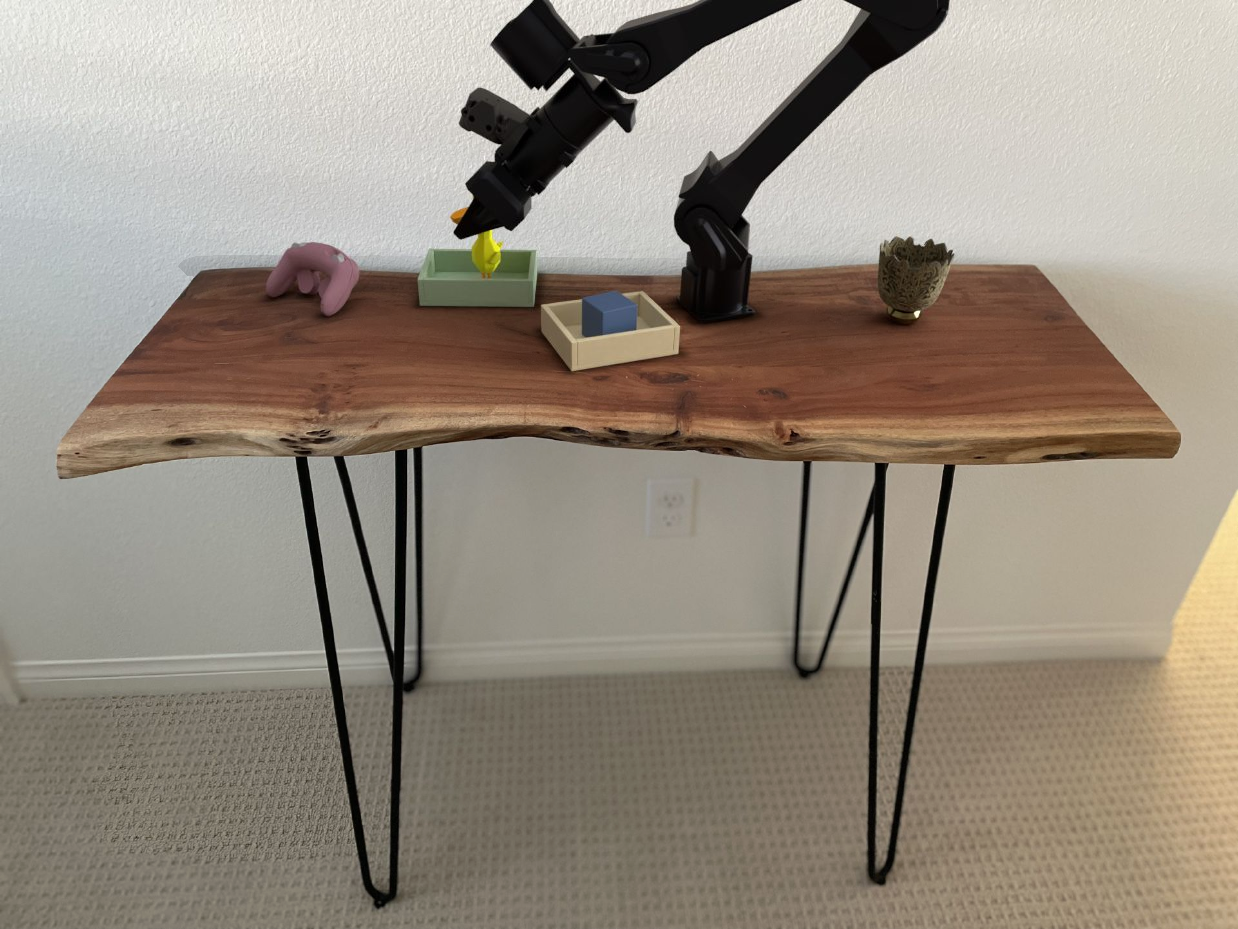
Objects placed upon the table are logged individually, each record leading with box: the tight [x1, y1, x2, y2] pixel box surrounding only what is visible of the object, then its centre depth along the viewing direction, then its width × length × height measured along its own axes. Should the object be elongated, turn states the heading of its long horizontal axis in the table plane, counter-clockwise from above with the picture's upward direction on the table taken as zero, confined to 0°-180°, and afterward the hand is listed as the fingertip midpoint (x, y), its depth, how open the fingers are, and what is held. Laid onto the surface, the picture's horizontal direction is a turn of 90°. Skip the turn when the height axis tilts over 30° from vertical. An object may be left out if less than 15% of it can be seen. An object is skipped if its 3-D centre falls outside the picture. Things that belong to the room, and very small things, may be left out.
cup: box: [877, 235, 955, 325], centre depth 98 cm, size 8×7×8 cm
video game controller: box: [265, 241, 360, 317], centre depth 99 cm, size 10×5×7 cm, turn 58°
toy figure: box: [449, 194, 505, 278], centre depth 100 cm, size 7×4×12 cm, turn 136°
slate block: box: [581, 290, 637, 338], centre depth 92 cm, size 4×4×4 cm
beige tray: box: [540, 290, 681, 372], centre depth 93 cm, size 11×9×3 cm
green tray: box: [416, 248, 538, 308], centre depth 103 cm, size 12×9×3 cm
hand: (464, 226), depth 100 cm, fingers open, 6 cm apart
